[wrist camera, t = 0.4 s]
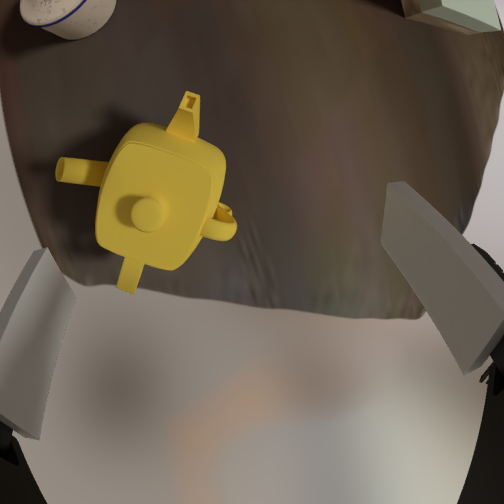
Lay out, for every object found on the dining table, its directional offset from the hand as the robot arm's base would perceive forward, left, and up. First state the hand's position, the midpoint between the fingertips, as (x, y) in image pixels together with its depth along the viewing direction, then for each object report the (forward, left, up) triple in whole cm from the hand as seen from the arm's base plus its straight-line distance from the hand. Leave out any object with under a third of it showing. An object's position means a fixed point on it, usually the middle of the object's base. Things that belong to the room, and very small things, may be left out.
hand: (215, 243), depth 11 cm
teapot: (+1, -6, -26) cm, 27 cm away
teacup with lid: (-24, -13, -26) cm, 38 cm away
